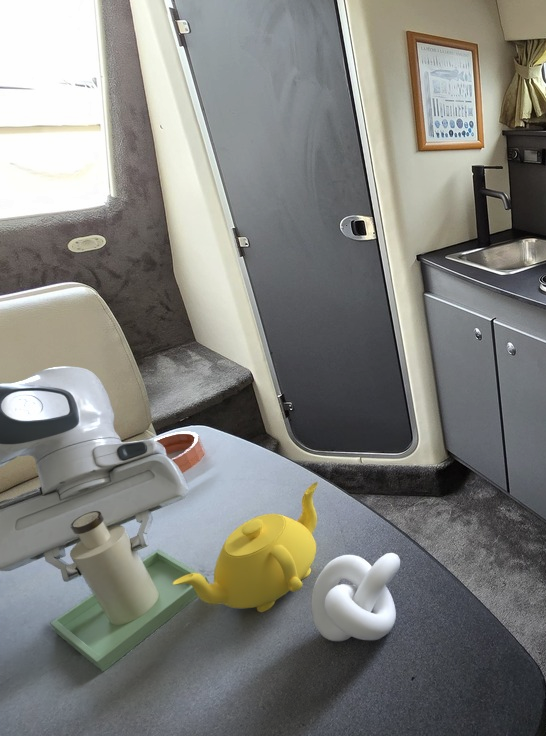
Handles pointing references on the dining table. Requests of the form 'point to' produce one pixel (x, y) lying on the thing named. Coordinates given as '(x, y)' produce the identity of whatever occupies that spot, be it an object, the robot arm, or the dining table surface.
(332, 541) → the dining table surface
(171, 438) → the ring
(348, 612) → the white knot
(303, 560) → the teapot
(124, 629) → the tray
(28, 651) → the dining table surface
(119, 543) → the bottle
